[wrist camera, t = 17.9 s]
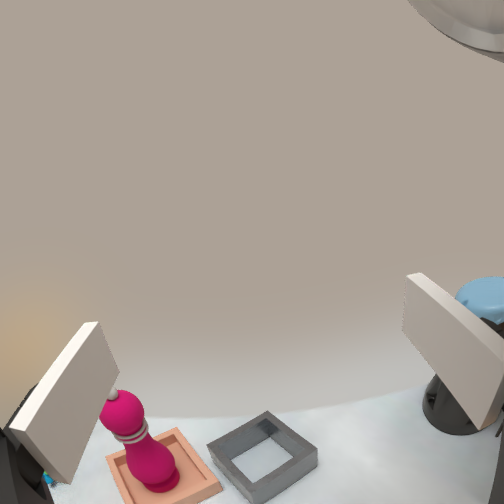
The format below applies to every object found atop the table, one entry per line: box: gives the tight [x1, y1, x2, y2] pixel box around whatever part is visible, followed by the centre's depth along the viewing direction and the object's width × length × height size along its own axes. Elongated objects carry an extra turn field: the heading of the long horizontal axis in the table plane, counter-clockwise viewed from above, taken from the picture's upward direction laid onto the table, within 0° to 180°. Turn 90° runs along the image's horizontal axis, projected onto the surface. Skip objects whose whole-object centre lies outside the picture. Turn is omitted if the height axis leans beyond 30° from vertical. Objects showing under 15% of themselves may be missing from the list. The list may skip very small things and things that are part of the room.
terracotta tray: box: [105, 427, 223, 504], centre depth 37 cm, size 14×14×3 cm
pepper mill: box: [99, 387, 180, 493], centre depth 34 cm, size 7×7×20 cm
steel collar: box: [207, 411, 317, 504], centre depth 39 cm, size 11×11×5 cm
